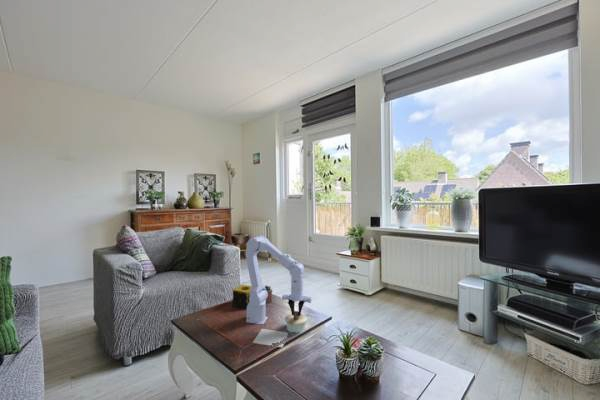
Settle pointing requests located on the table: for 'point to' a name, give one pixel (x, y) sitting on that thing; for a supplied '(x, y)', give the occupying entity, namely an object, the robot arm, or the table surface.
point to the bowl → (295, 328)
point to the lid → (296, 319)
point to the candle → (241, 296)
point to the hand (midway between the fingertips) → (296, 314)
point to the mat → (270, 337)
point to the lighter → (269, 294)
